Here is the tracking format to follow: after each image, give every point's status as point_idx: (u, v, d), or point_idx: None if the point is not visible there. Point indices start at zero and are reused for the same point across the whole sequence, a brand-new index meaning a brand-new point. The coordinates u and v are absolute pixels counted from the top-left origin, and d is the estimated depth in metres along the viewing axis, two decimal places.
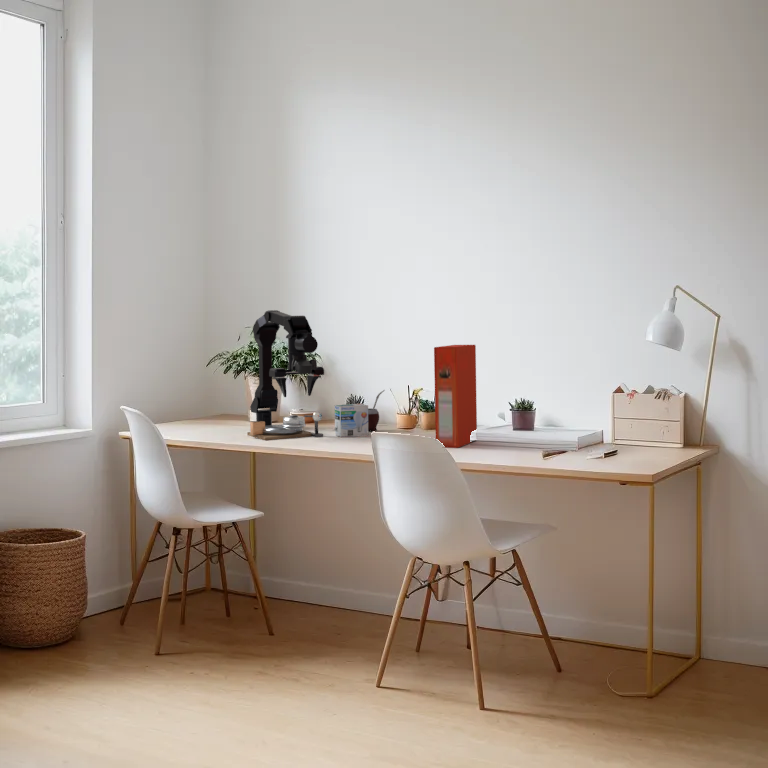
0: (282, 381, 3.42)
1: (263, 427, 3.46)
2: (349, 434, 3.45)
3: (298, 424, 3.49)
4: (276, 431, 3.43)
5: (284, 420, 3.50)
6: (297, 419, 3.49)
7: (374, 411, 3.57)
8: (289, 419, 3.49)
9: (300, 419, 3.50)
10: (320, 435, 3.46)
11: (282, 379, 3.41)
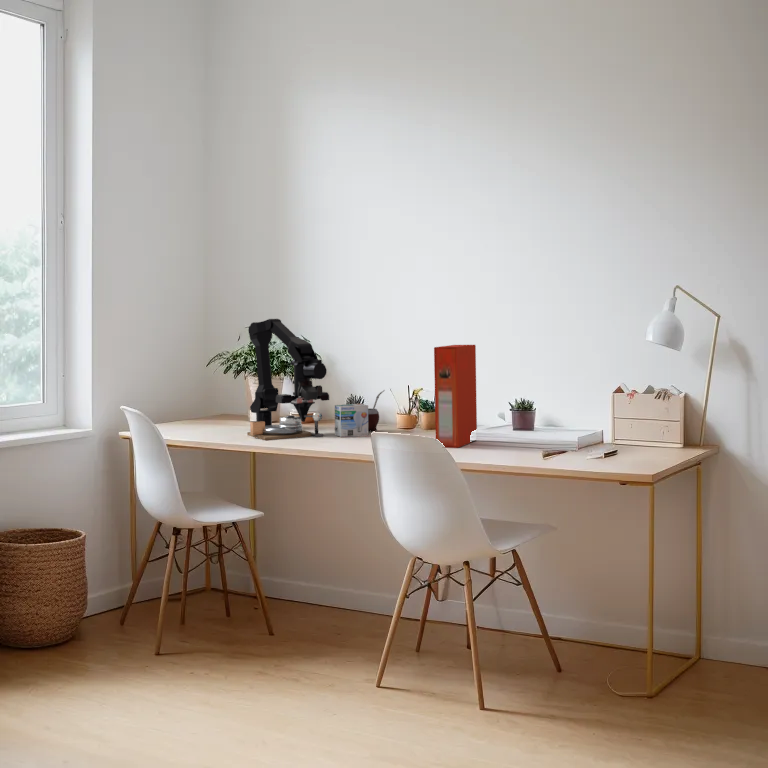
0: (300, 406, 3.51)
1: (263, 427, 3.46)
2: (349, 434, 3.45)
3: (295, 424, 3.48)
4: (276, 431, 3.43)
5: (281, 420, 3.49)
6: (294, 419, 3.48)
7: (374, 411, 3.57)
8: (286, 419, 3.48)
9: (297, 419, 3.49)
10: (320, 435, 3.46)
11: (300, 404, 3.50)
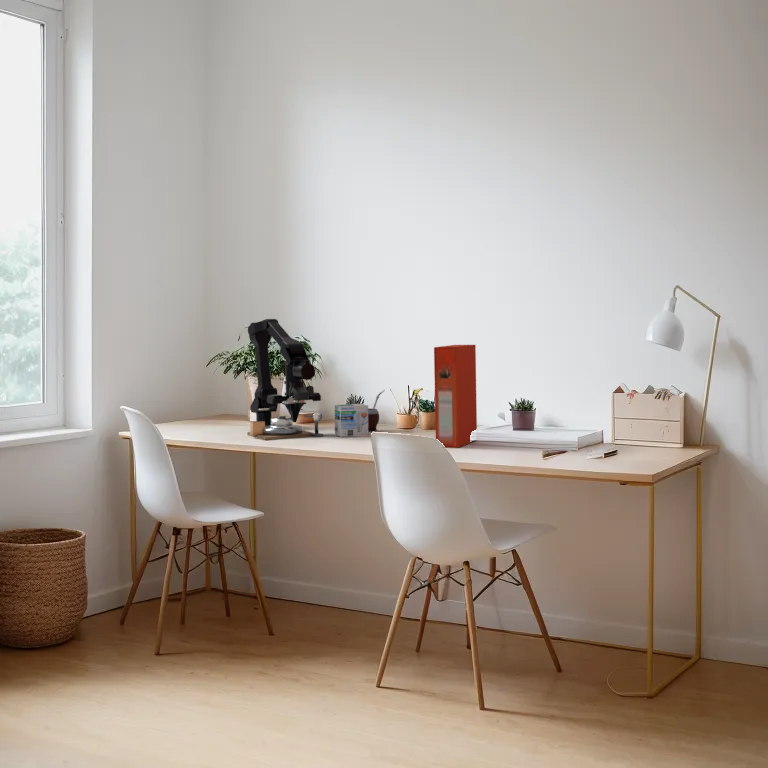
0: (291, 407, 3.49)
1: (263, 427, 3.46)
2: (349, 434, 3.45)
3: (286, 425, 3.47)
4: (276, 431, 3.43)
5: (272, 421, 3.48)
6: (285, 420, 3.46)
7: (374, 411, 3.57)
8: (277, 420, 3.46)
9: (288, 420, 3.47)
10: (320, 435, 3.46)
11: (291, 405, 3.49)
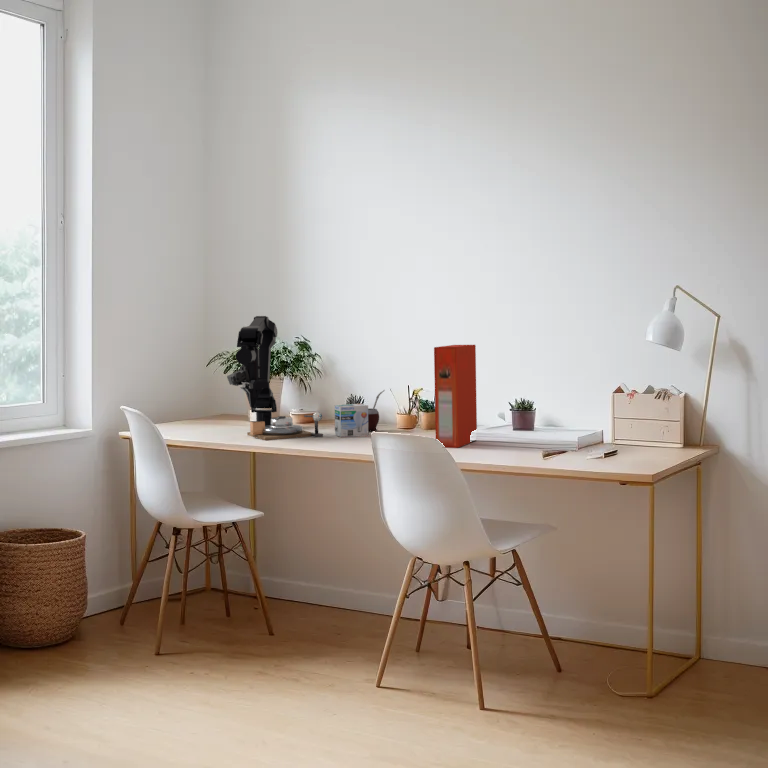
0: None
1: (263, 427, 3.46)
2: (349, 434, 3.45)
3: (286, 425, 3.47)
4: (276, 431, 3.43)
5: (272, 421, 3.48)
6: (285, 420, 3.46)
7: (374, 411, 3.57)
8: (277, 420, 3.46)
9: (288, 420, 3.47)
10: (320, 435, 3.46)
11: None
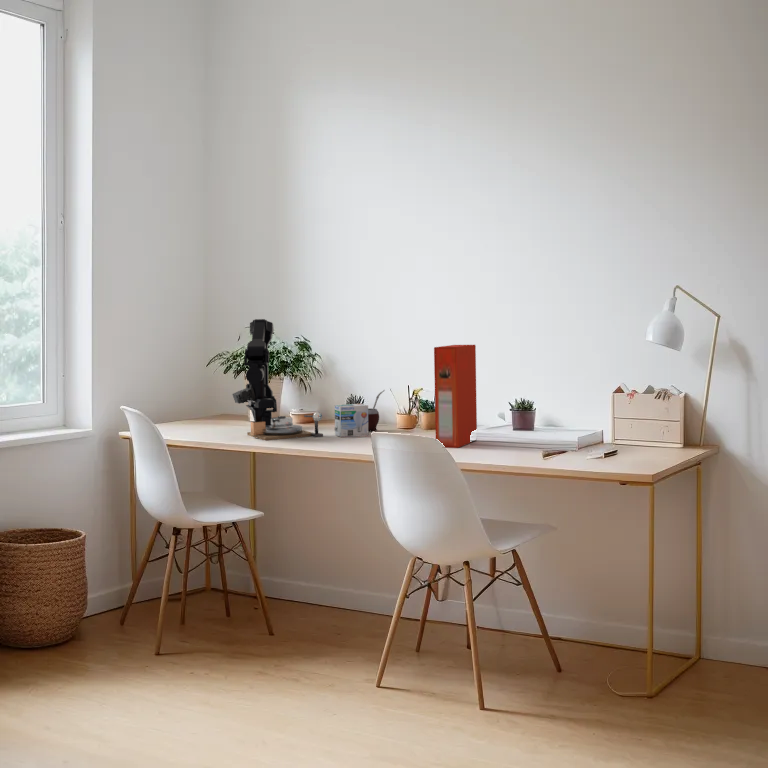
0: (250, 409, 3.48)
1: (263, 427, 3.45)
2: (349, 434, 3.45)
3: (286, 425, 3.47)
4: (277, 431, 3.43)
5: (272, 421, 3.48)
6: (285, 420, 3.46)
7: (374, 411, 3.57)
8: (277, 420, 3.46)
9: (288, 420, 3.47)
10: (320, 435, 3.46)
11: (248, 407, 3.47)
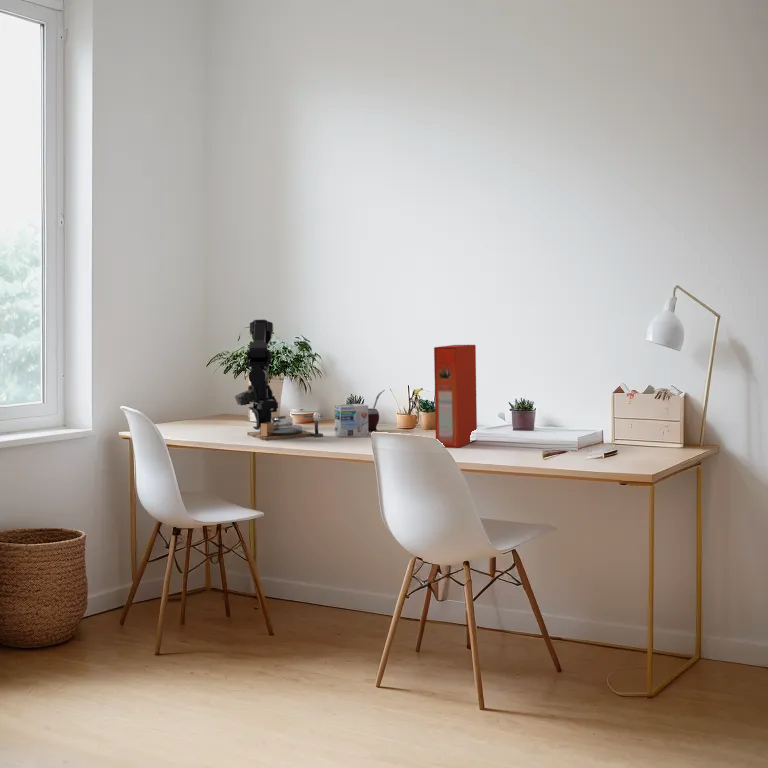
0: (252, 410, 3.46)
1: (273, 428, 3.43)
2: (349, 434, 3.45)
3: (291, 424, 3.49)
4: (289, 431, 3.44)
5: (277, 421, 3.46)
6: (290, 419, 3.48)
7: (374, 411, 3.57)
8: (283, 420, 3.46)
9: (292, 419, 3.49)
10: (320, 435, 3.46)
11: (250, 408, 3.46)
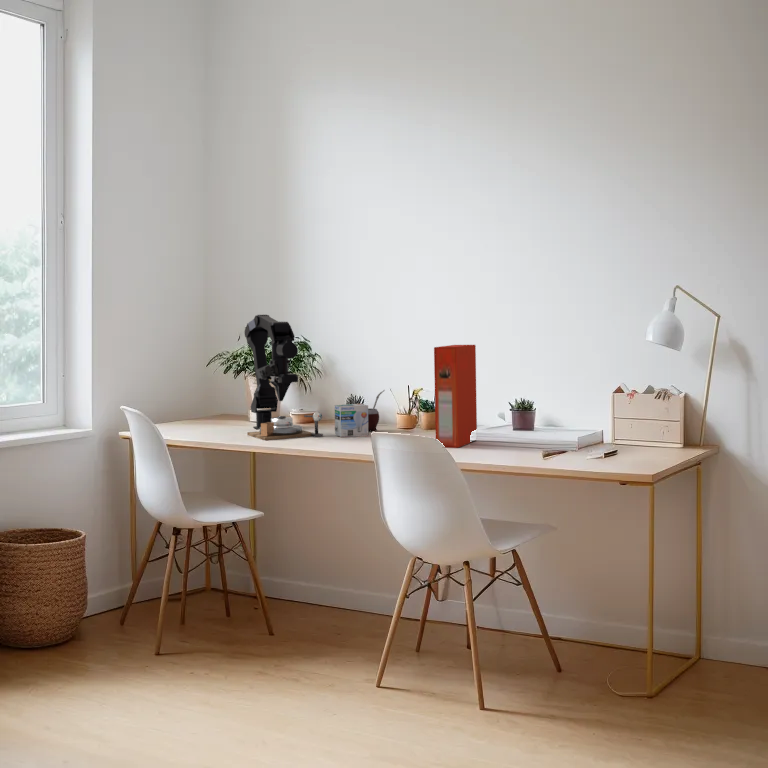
0: None
1: (273, 428, 3.43)
2: (349, 434, 3.45)
3: (291, 424, 3.49)
4: (289, 431, 3.44)
5: (277, 421, 3.46)
6: (290, 419, 3.48)
7: (374, 411, 3.57)
8: (283, 420, 3.46)
9: (292, 419, 3.49)
10: (320, 435, 3.46)
11: (271, 382, 3.54)
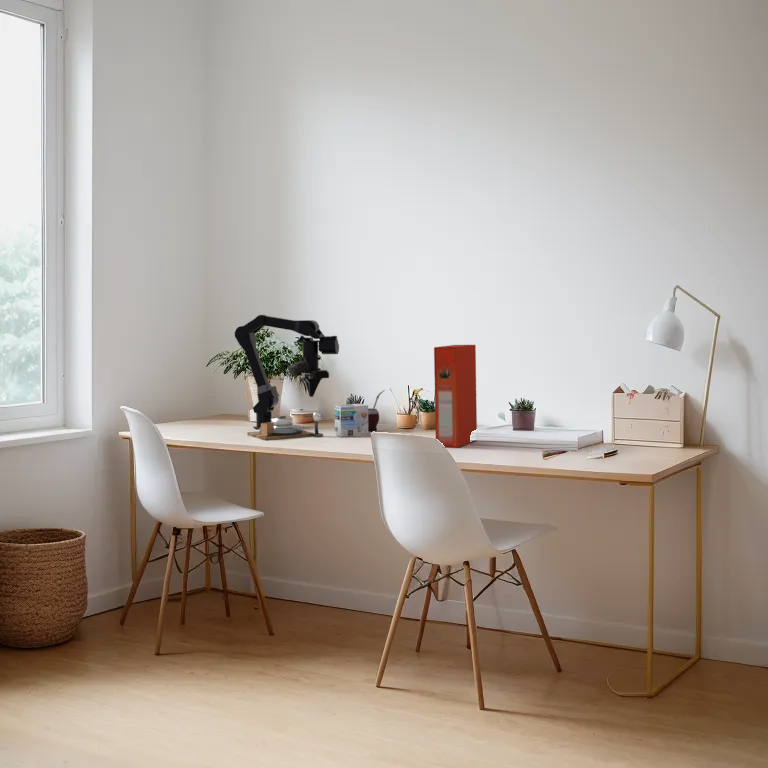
0: (304, 381, 3.67)
1: (273, 428, 3.43)
2: (349, 434, 3.45)
3: (291, 424, 3.49)
4: (289, 431, 3.44)
5: (277, 421, 3.46)
6: (290, 419, 3.48)
7: (374, 411, 3.57)
8: (283, 420, 3.46)
9: (292, 419, 3.49)
10: (320, 435, 3.46)
11: (302, 379, 3.67)
